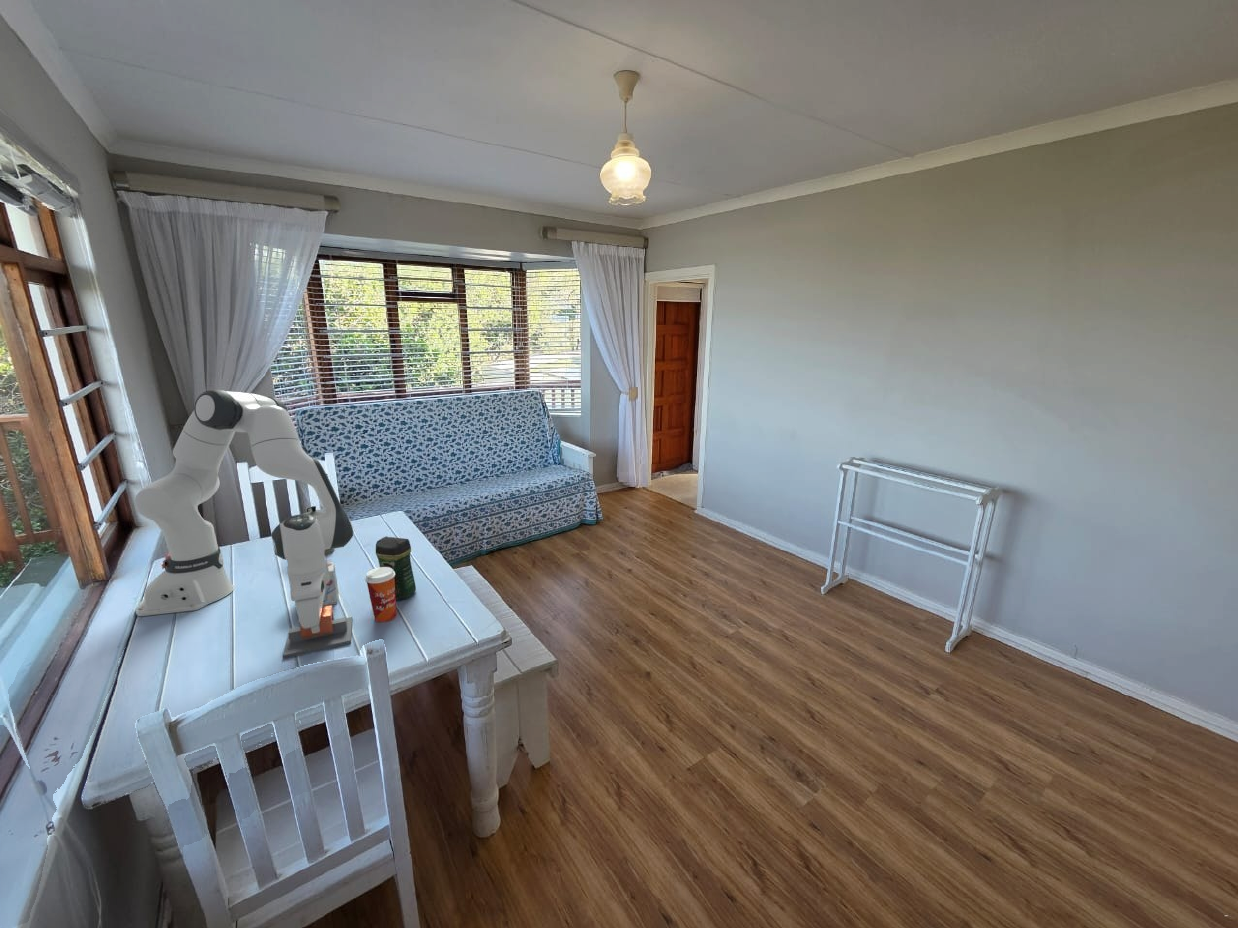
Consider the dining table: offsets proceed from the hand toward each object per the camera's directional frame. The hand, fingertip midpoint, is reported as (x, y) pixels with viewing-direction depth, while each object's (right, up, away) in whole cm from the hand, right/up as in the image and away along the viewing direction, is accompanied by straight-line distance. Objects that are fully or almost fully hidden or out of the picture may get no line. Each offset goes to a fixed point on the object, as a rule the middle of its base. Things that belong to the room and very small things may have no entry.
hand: (317, 624), depth 131 cm
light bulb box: (-11, +1, +18) cm, 21 cm away
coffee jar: (+11, +2, +23) cm, 26 cm away
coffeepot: (-31, +10, +52) cm, 61 cm away
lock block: (0, -2, 0) cm, 2 cm away
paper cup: (+13, -1, +11) cm, 17 cm away
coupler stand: (0, -4, +1) cm, 4 cm away
